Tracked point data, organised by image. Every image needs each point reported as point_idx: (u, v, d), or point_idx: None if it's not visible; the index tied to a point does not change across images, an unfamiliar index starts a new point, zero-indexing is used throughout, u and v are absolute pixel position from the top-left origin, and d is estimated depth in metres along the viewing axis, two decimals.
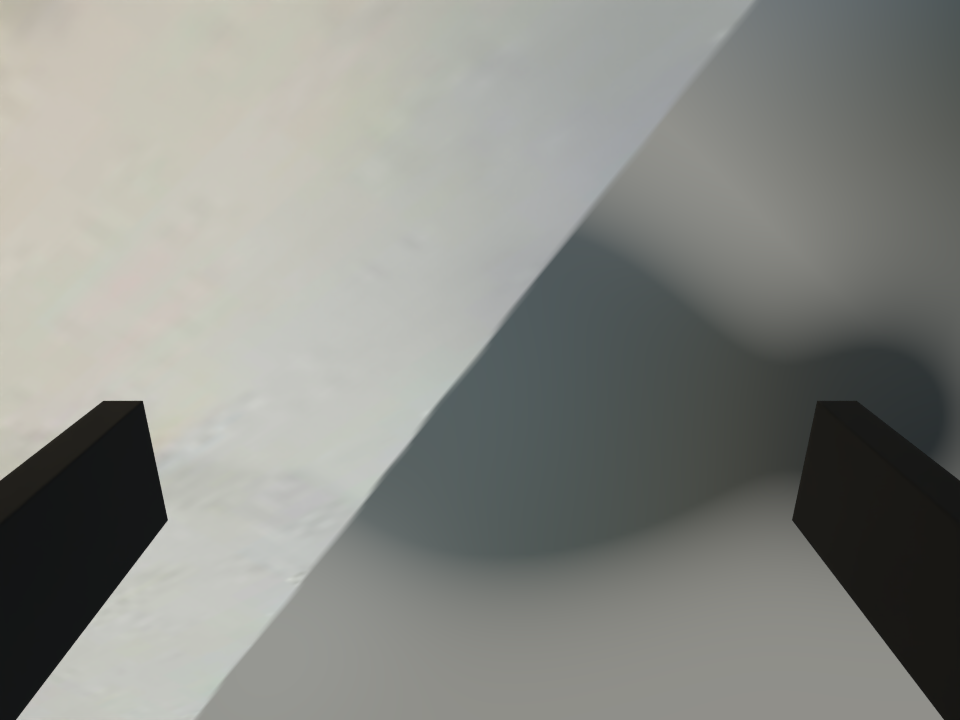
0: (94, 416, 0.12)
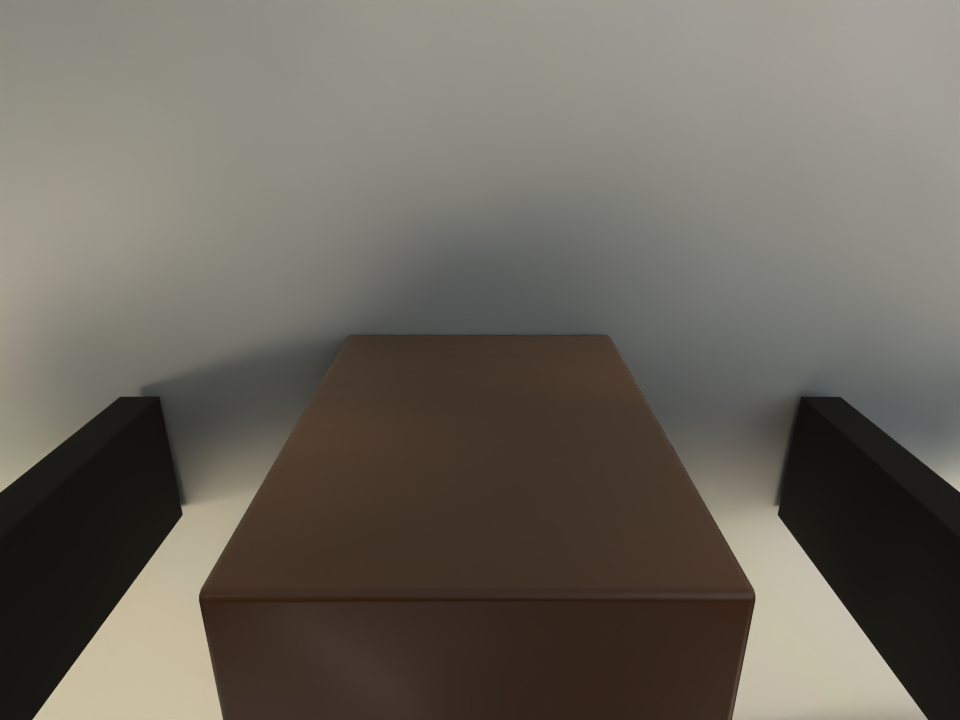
0: (112, 412, 0.12)
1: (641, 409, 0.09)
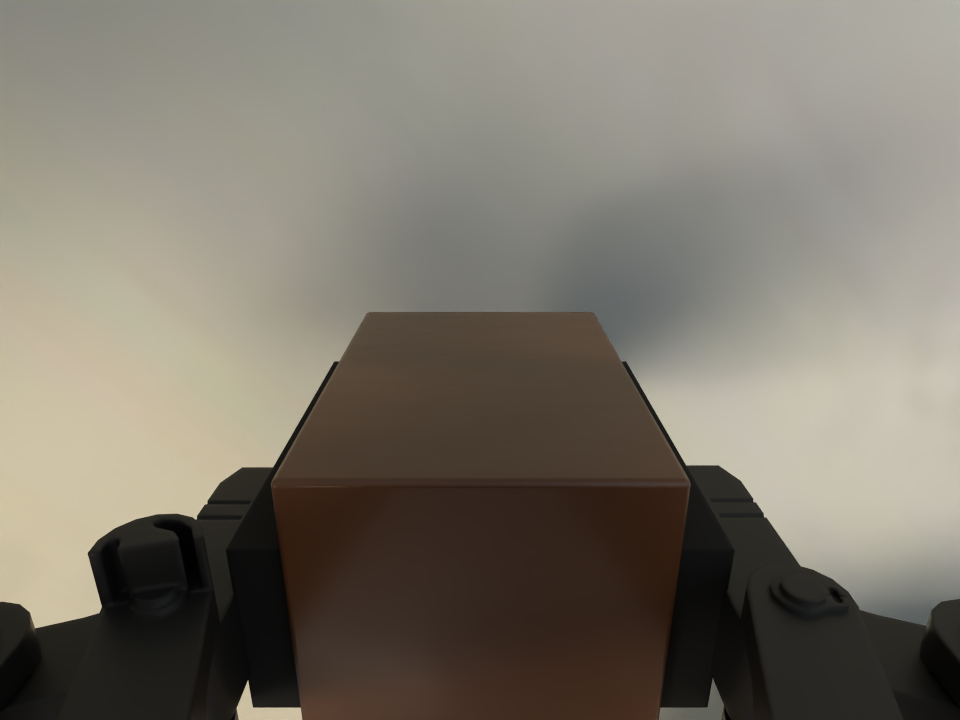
0: None
1: (616, 365, 0.11)
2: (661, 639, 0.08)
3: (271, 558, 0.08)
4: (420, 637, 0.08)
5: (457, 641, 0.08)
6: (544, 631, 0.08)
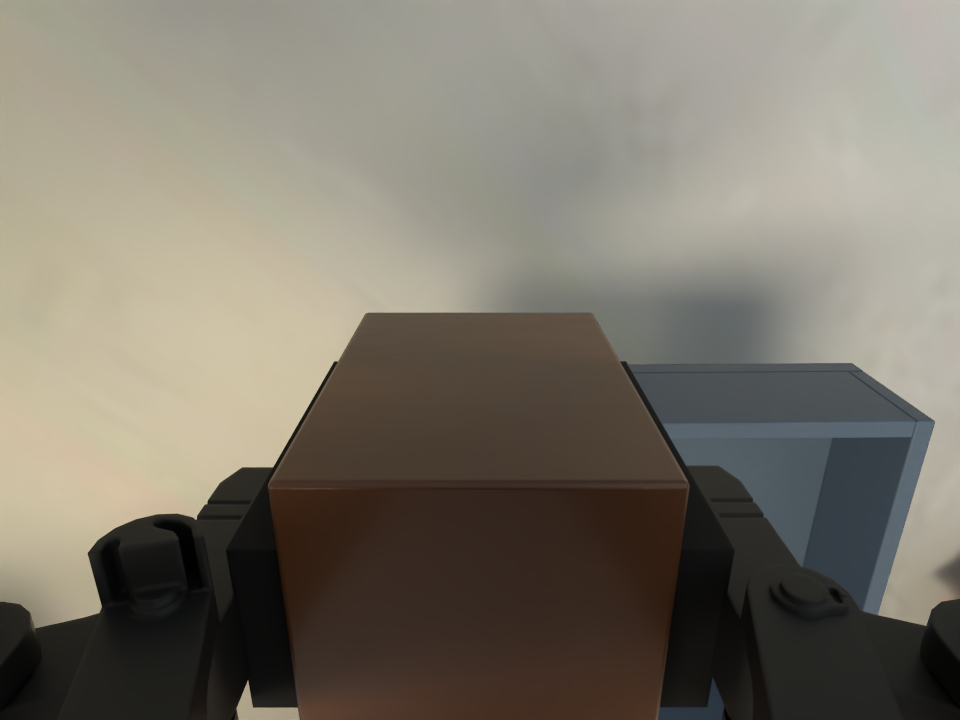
0: None
1: (615, 366, 0.11)
2: (660, 640, 0.08)
3: (271, 558, 0.08)
4: (419, 639, 0.08)
5: (456, 644, 0.08)
6: (543, 633, 0.08)
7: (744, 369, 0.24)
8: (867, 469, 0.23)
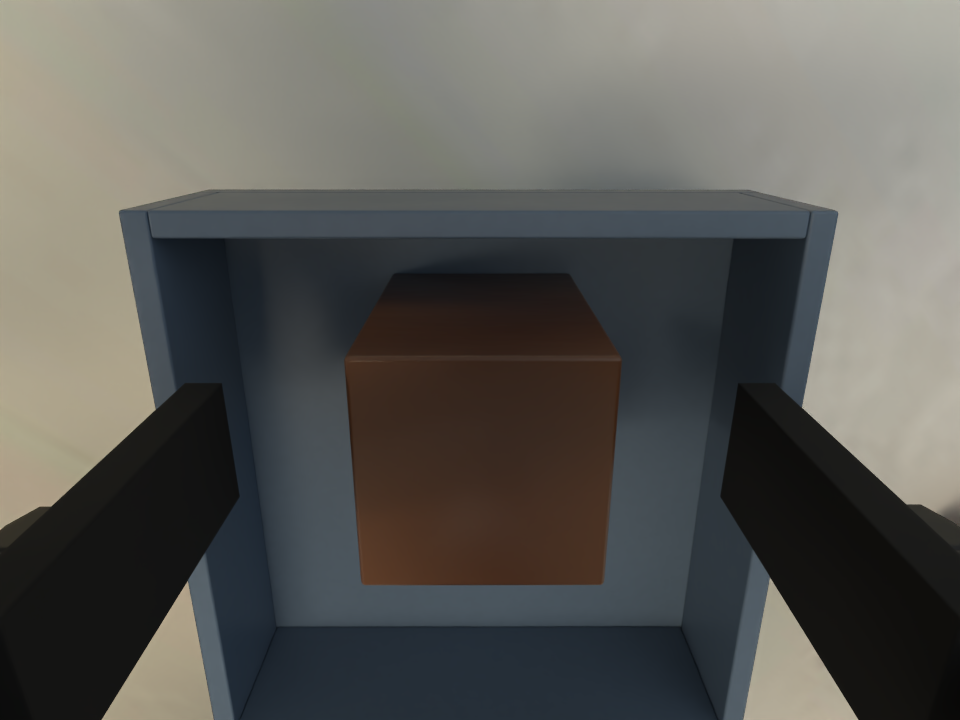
0: (180, 397, 0.12)
1: (581, 302, 0.15)
2: (606, 473, 0.12)
3: None
4: (442, 472, 0.12)
5: (466, 476, 0.12)
6: (526, 468, 0.12)
7: (598, 191, 0.17)
8: (759, 315, 0.16)
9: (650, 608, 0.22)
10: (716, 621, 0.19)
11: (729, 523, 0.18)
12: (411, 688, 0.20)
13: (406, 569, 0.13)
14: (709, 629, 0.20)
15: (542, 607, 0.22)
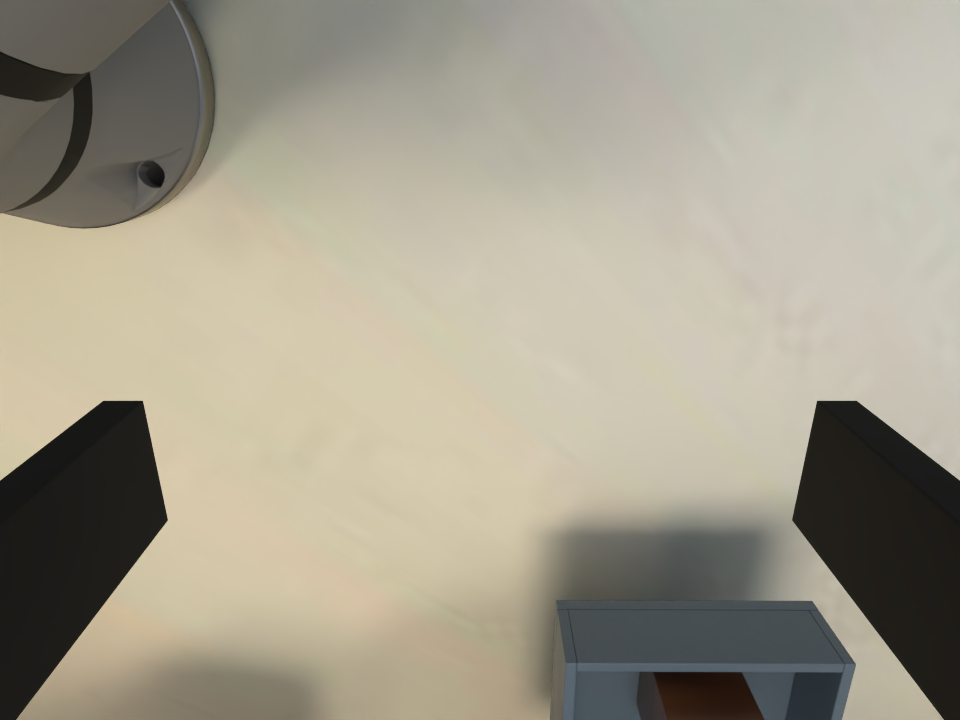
0: (94, 417, 0.12)
1: (745, 684, 0.35)
2: None
3: None
4: None
5: None
6: None
7: (742, 607, 0.38)
8: (820, 679, 0.36)
9: None
10: None
11: None
12: None
13: None
14: None
15: None
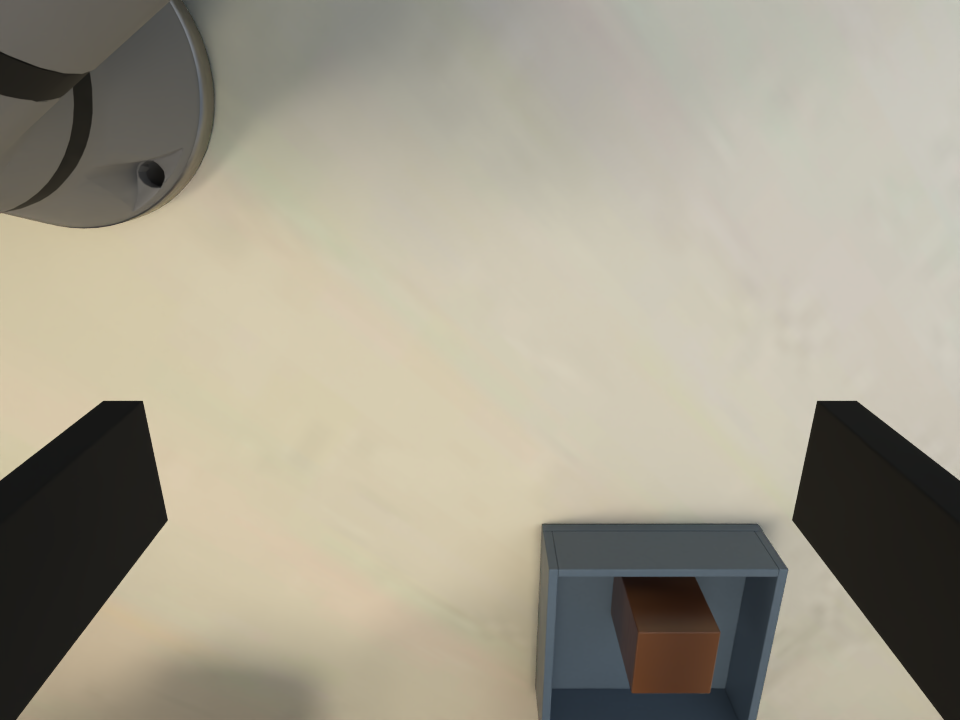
0: (94, 417, 0.12)
1: (698, 589, 0.42)
2: (713, 662, 0.40)
3: None
4: (662, 662, 0.40)
5: (670, 662, 0.40)
6: (689, 660, 0.39)
7: (698, 529, 0.45)
8: (761, 586, 0.43)
9: None
10: (742, 692, 0.46)
11: (748, 655, 0.45)
12: (614, 718, 0.47)
13: (647, 688, 0.40)
14: (739, 694, 0.47)
15: None
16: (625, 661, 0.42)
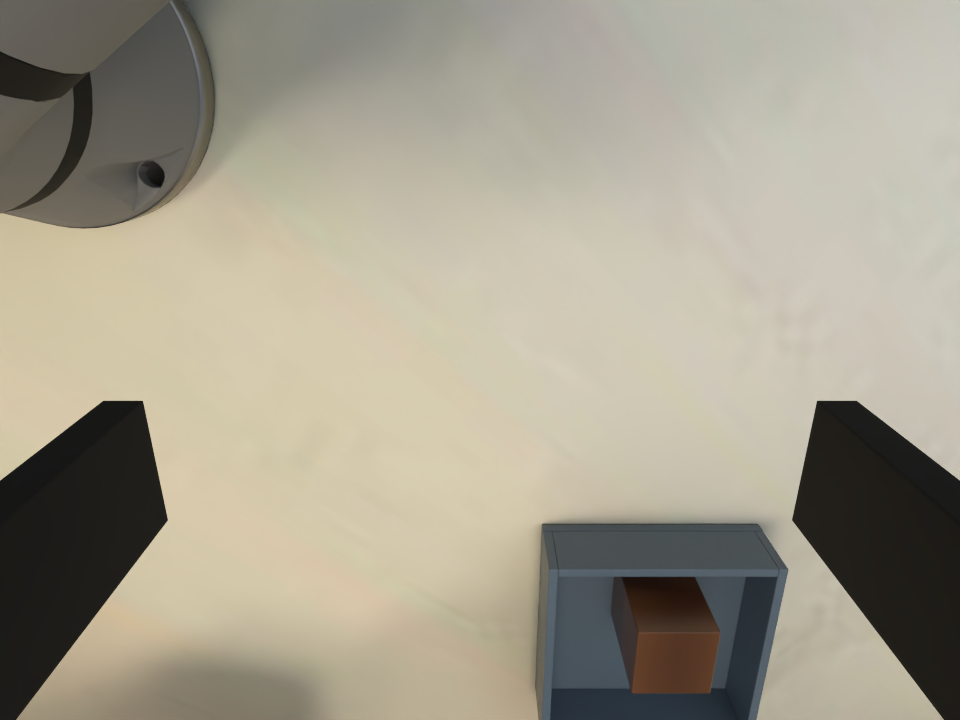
0: (94, 417, 0.12)
1: (698, 589, 0.42)
2: (713, 662, 0.40)
3: None
4: (662, 662, 0.40)
5: (670, 662, 0.40)
6: (689, 660, 0.39)
7: (698, 529, 0.45)
8: (761, 586, 0.43)
9: None
10: (742, 692, 0.46)
11: (748, 655, 0.45)
12: (614, 718, 0.47)
13: (647, 688, 0.40)
14: (739, 694, 0.47)
15: None
16: (625, 661, 0.42)
